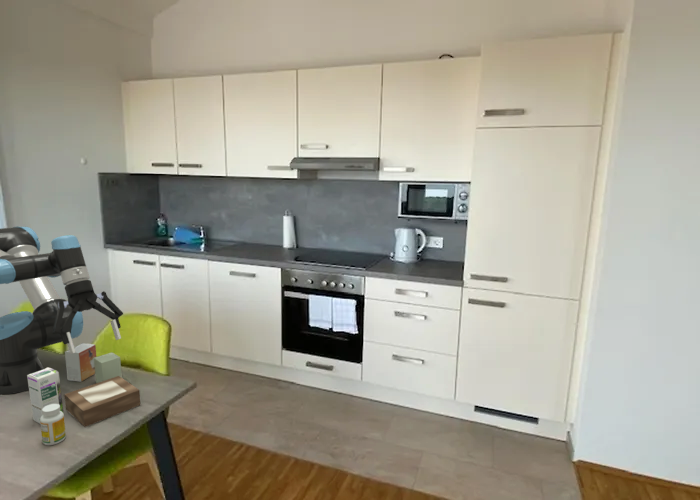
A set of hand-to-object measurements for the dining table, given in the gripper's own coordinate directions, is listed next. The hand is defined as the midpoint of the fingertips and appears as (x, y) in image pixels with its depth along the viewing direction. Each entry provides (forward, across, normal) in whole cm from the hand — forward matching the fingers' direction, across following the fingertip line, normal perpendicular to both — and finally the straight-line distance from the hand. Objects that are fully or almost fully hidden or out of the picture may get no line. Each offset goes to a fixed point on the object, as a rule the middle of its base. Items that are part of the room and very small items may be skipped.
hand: (96, 346), depth 145 cm
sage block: (+12, +4, +12) cm, 18 cm away
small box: (+8, 0, +22) cm, 23 cm away
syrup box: (+16, -17, +3) cm, 23 cm away
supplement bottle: (+21, -19, -8) cm, 30 cm away
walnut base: (+19, -4, -2) cm, 19 cm away
